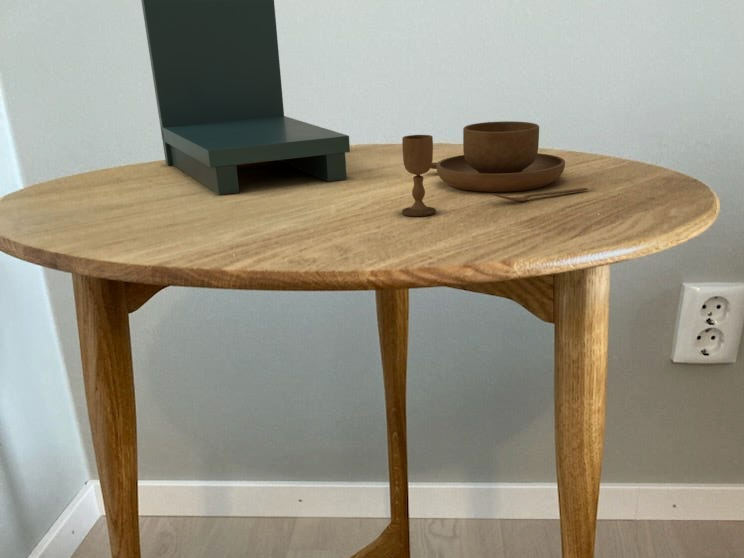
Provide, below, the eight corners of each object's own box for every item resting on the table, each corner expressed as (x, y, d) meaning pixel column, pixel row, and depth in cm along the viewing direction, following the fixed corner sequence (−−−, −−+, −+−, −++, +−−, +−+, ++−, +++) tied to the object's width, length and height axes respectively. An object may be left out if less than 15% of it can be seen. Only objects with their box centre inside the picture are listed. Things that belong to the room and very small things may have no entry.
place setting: (611, 188, 81) (617, 116, 78) (415, 219, 74) (413, 141, 71) (502, 162, 95) (503, 100, 92) (327, 186, 87) (322, 119, 84)
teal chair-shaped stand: (351, 178, 90) (337, -86, 79) (213, 195, 86) (178, -84, 75) (284, 151, 107) (264, -70, 96) (166, 164, 103) (131, -67, 92)
